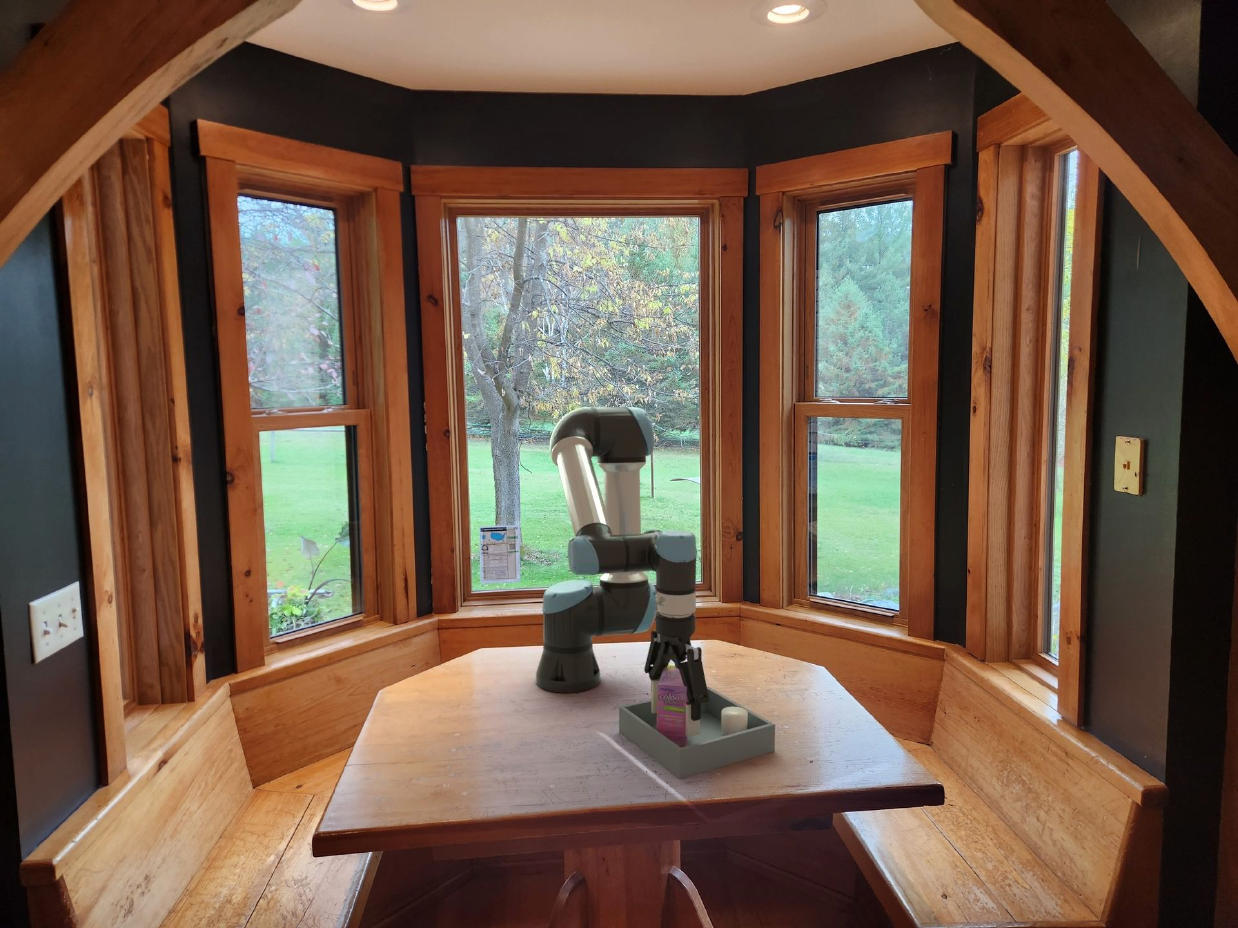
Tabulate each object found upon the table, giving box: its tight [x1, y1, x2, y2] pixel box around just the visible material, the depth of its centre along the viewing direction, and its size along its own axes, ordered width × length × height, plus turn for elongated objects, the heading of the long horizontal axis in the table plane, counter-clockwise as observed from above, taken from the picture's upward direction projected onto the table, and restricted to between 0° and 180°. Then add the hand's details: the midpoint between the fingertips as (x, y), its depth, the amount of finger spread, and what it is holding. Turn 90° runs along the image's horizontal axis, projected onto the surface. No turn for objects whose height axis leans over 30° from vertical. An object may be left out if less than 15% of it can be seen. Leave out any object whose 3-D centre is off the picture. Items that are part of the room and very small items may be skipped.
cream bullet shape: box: [721, 707, 748, 737], centre depth 151 cm, size 5×5×6 cm
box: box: [657, 664, 689, 747], centre depth 150 cm, size 10×6×12 cm, turn 168°
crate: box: [618, 686, 776, 780], centre depth 151 cm, size 22×22×6 cm
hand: (674, 722), depth 150 cm, fingers closed on box, 11 cm apart
